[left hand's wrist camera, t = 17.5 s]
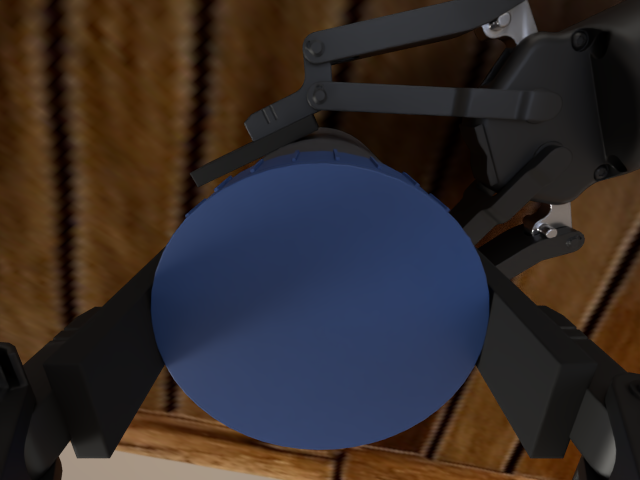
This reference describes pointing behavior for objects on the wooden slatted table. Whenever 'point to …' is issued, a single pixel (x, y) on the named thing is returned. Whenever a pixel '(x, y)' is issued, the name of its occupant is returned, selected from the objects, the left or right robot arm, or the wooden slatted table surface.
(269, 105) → the right robot arm
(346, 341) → the lid
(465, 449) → the wooden slatted table surface
